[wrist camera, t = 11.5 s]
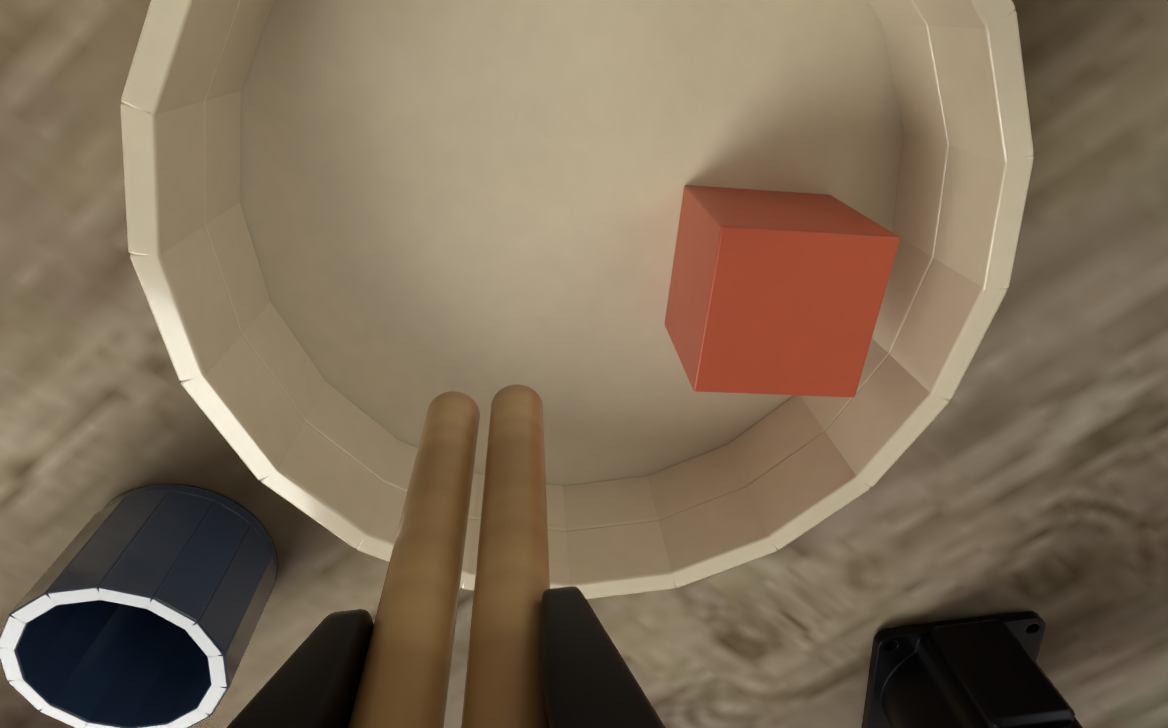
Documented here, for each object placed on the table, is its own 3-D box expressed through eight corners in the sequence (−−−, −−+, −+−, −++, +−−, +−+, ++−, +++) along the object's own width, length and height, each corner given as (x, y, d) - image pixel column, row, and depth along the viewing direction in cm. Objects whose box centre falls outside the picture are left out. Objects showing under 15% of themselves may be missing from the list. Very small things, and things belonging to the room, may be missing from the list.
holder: (300, 608, 25) (256, 724, 21) (129, 629, 25) (51, 749, 21) (249, 473, 22) (187, 575, 18) (58, 495, 22) (-47, 603, 18)
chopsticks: (550, 427, 13) (634, 1897, 3) (427, 439, 13) (64, 1994, 3) (545, 377, 12) (620, 1926, 2) (417, 390, 12) (-65, 2044, 2)
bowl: (876, 452, 23) (957, 555, 19) (328, 516, 23) (279, 637, 19) (957, -249, 15) (1135, -357, 11) (107, -168, 15) (-72, -245, 10)
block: (798, 331, 21) (855, 398, 17) (663, 325, 20) (693, 392, 17) (831, 194, 19) (902, 237, 15) (684, 184, 18) (721, 226, 15)
